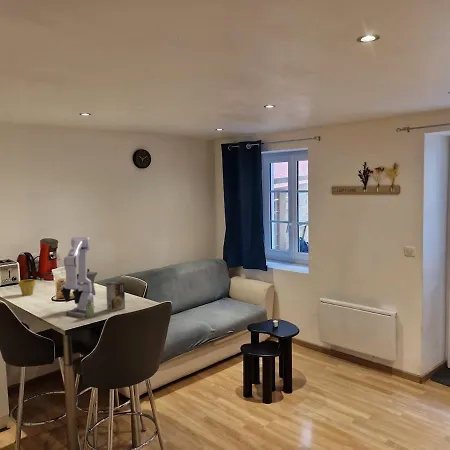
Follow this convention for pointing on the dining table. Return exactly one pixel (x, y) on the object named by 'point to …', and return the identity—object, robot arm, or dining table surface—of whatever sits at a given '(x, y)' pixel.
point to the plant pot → (27, 287)
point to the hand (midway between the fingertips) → (72, 302)
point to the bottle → (89, 309)
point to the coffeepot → (91, 277)
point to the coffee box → (115, 295)
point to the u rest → (77, 313)
